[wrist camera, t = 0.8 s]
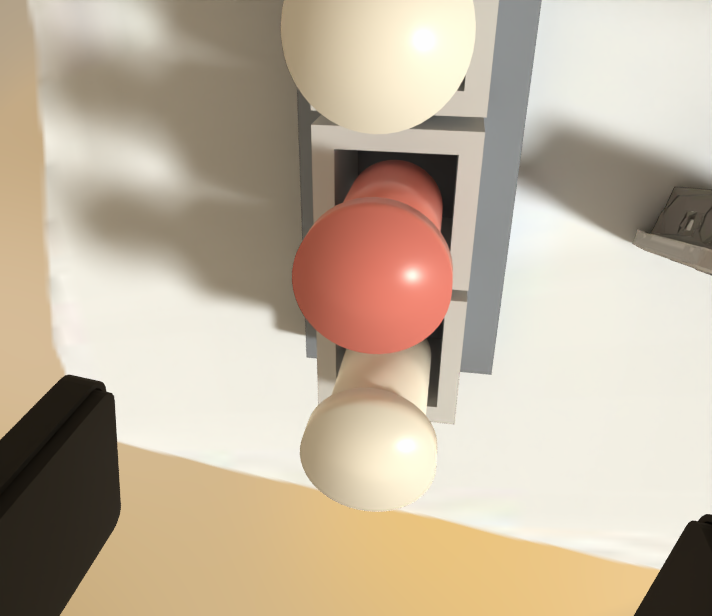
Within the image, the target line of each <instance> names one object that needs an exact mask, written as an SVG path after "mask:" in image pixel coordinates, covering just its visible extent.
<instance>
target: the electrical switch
mask: <svg viewBox="0 0 712 616" xmlns="http://www.w3.org/2000/svg"><path fill="white" fill-rule="evenodd" d="M633 244H634V245H636V246H638V247H639V248H641V249H643V250H645V251H648V252H651V253H654V254H656V255H659V256H662V257H665V258H668V259H670V260H672V261H675V262H678V263H681V264H684V265H687V266H690V267H692V268H695V269H696V270H698V271H701V272H704V273H707V274H709V275H712V190H706V189H694V188H681V187H674V189H673V192H672V194H671V196H670V198H669V201H668V203H667V205H666V207H665V208H664V210H663V211H662V213H661V214H660V216H659V218H658V220H657V223H656V225H655V227H654V228H653V230H652V232H651V233H646V232H643V231H641V230H637V233H636V235H635V238H634V241H633Z"/></svg>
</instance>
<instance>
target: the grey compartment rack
mask: <svg viewBox="0 0 712 616" xmlns="http://www.w3.org/2000/svg"><path fill="white" fill-rule="evenodd" d="M541 1H542V0H473V4H474V9H475V20H476V34H475V43H474V50H473V54H472V58H471V61H470V65H469V67H468V70H467V72H466V75H465V77H464V79H463V81H462V82H461V84H460V86H459V88H458V89H457V91H456V92H455V93H454V95H453V96H452V97H451V99H450V100H449V101H448V102H447V103H446V104H445V105H444V106H443V107H442V108H441V109H440V110H439V111H438V112H437V113H435V114H434V115H433V116H432V117H430V118H429V119H427V120H426V121H424V122H422V123H421V124H419V125H416V126H414V127H412V128H410V129H406V130H403V131H400V132H395V133H389V134H368V133H361V132H357V131H353V130H349V129H347V128H344V127H342V126H339V125H337V124H336V123H334V122H332V121H330V120H329V119H327V118H326V117H324V116H323V115H322V114H320V113H319V112H318V111H317V110H316V109H315V108H314V107H313V106H312V105H311V104H310V103H309V102H308V101H307V100H306V99H305V97H304V96H303V95H302V93H301V92H300V90H299V89H298V87H297V98H298V127H299V155H300V183H301V212H302V240H304V238H305V236H306V235H307V233H308V231H309V230H310V228H311V227H312V225H313V224H314V223H315V222H316V221H317V220H318V218H319V217H320V216H322V215H323V214H324V213H325V212H327V211H328V210H329V209H331V208H333V207H334V206H336V205H338V204H340V203H343V201H344V199H345V197H346V196H347V194H348V192H349V190H350V188H351V186H352V184H353V182H354V181H355V179H356V178H357V177H358V176H359V174H360V173H361V172H362V171H364V170H365V169H366V168H368V167H369V166H371V165H373V164H375V163H378V162H381V161H386V160H403V161H407V162H410V163H413V164H415V165H417V166H419V167H421V168H422V169H424V170H425V171H426V172H427V173H428V174H429V175H430V176H431V177H432V178H433V179H434V180H435V182H436V184H437V185H438V187H439V190H440V192H441V196H442V202H443V213H442V222H441V234H442V235H443V237H444V239H445V240H446V243H447V245H448V247H449V250H450V253H451V257H452V264H453V284H452V296H451V302H450V305H449V308H448V311H447V313H446V315H445V317H444V319H443V320H442V322H441V323H440V325H439V326H438V327H437V328H436V329H435V330H434V332H433V333H432V334H431V335H429V336H428V337H427V340H428V342H429V345H430V348H431V366H430V376H429V387H428V398H427V408H426V416H427V418H428V419H429V421H430V422H436V423H446V424H454V423H455V414H456V404H457V395H458V385H459V376H460V372H469V373H479V374H490V375H491V373H492V365H493V358H494V350H495V343H496V336H497V328H498V321H499V313H500V306H501V298H502V291H503V284H504V276H505V269H506V261H507V254H508V246H509V239H510V232H511V224H512V217H513V209H514V202H515V194H516V187H517V180H518V172H519V165H520V157H521V150H522V142H523V135H524V127H525V120H526V113H527V105H528V98H529V90H530V83H531V75H532V68H533V61H534V53H535V46H536V38H537V31H538V23H539V16H540V9H541ZM305 325H306V353H307V357H308V358H317V374H318V405H319V404H320V403H321V402H322V401H323V400H324V399H326V398H328V397H329V396H331V395H332V392H333V389H334V385H335V382H336V379H337V376H338V373H339V370H340V367H341V363H342V360H343V357H344V354H345V351H346V348H344V347H341V346H339V345H337V344H335V343H333V342H331V341H330V340H328V339H327V338H325V337H324V336H323V335H321V334H320V333H319V332H318V331H317V330H316V329H315V328H314V327H313V326H312V325H311V324H310V323H309V322H308V320H307V319H306V318H305Z"/></svg>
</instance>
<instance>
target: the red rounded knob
mask: <svg viewBox="0 0 712 616" xmlns="http://www.w3.org/2000/svg"><path fill="white" fill-rule="evenodd" d="M442 213H443V202H442V196H441V192H440V190H439V187H438V185H437V184H436V182H435V180H434V179H433V178H432V177H431V176H430V175H429V174H428V173H427V172H426V171H425V170H424V169H422V168H421V167H419V166H417V165H415V164H413V163H410V162H407V161H403V160H386V161H381V162H378V163H375V164H373V165H371V166H369V167H368V168H366V169H365V170H364V171H362V172H361V173H360V174H359V176H358V177H357V178H356V179H355V181H354V182H353V184H352V186H351V188H350V190H349V192H348V194H347V196H346V197H345V199H344V201H343V203H340V204H338V205H336V206H334V207H333V208H331V209H329V210H328V211H327V212H325V213H324V214H323V215H322V216H320V217H319V218H318V220H317V221H316V222H315V223H314V224H313V225H312V227H311V228H310V230H309V231H308V233H307V235H306V236H305V238H304V240H303V241H302V243H301V245H300V247H299V249H298V251H297V253H296V256H295V259H294V263H293V269H292V284H293V290H294V294H295V298H296V301H297V303H298V306H299V308H300V310H301V311H302V313H303V315H304V316H305V318H306V319H307V320H308V322H309V323H310V324H311V325H312V326H313V327H314V328H315V329H316V330H317V331H318V332H319V333H320V334H321V335H323V336H324V337H325V338H327V339H328V340H330V341H331V342H333V343H335V344H337V345H339V346H341V347H344V348H346V349H349V350H352V351H356V352H361V353H367V354H387V353H393V352H399V351H402V350H405V349H408V348H410V347H412V346H414V345H416V344H418V343H420V342H421V341H423V340H424V339H426V338H427V337H428V336H429V335H431V334H432V333H433V332H434V330H435V329H436V328H437V327H438V326H439V325H440V323H441V322H442V320H443V319H444V317H445V315H446V313H447V311H448V308H449V305H450V302H451V296H452V284H453V264H452V257H451V253H450V250H449V247H448V245H447V243H446V240H445V239H444V237H443V235H442V234H441V222H442Z"/></svg>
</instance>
